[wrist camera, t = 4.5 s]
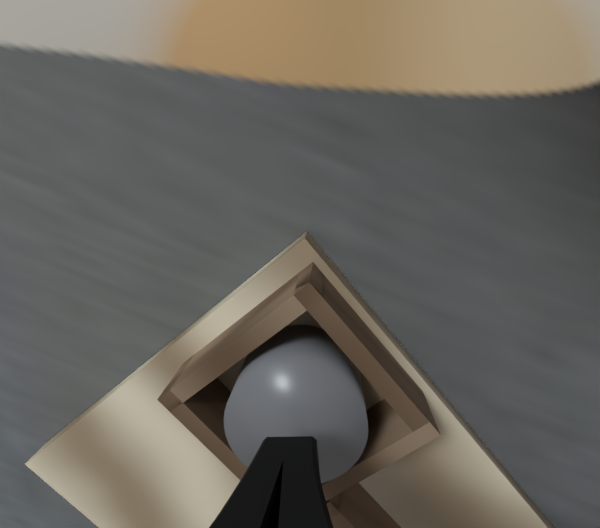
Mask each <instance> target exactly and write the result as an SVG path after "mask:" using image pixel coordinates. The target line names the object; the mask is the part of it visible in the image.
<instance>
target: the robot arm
mask: <svg viewBox="0 0 600 528" xmlns="http://www.w3.org/2000/svg"><path fill="white" fill-rule="evenodd" d="M209 528H333V524H332V521H331V518H330V514H329V511H328V507H327V503H326V500H325V496H324V493H323V488H322V484H321V479H320V470H319V459H318V448H317V440H316V439H315V438H314V437H313V436H298V437H266V438H265V439H264V440H263V442H262V444H261V446H260V448H259V449H258V451H257V453H256V455H255V457H254V458H253V460H252V462H251V464H250V465H249V467H248V469H247V470H246V472H245V474H244V475H243V477H242V479H241V480H240V482H239V484H238V485H237V487H236V488H235V490H234V491H233V493H232V494H231V496H230V498H229V499H228V501H227V502H226V504H225V505H224V507H223V508H222V510H221V511H220V513H219V514H218V516H217V517H216V519H215V520H214V521H213V523H212V524H211V526H210V527H209Z"/></svg>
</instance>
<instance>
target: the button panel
mask: <svg viewBox="0 0 600 528" xmlns="http://www.w3.org/2000/svg"><path fill="white" fill-rule="evenodd" d="M289 325H309V326H315V327H318V328H321V329H324V330H325V331H326V333H327V334H328V335H329V336H330V337H331V338H332V339H333V341H334V342H335V343H336V344H337V345H338V346H339V347H340V349H341V350H342V351H343V352H344V353H345V354H346V355H347V357H348V358H349V359H350V360H351V361H352V362H353V363H354V365H355V366H356V367H357V368H358V369H359V370H360V374H361V380H362V387H363V393H364V400H365V407H366V413H367V420H368V438H367V442H366V446H365V448H364V451H363V453H362V454H361V456H360V458H359V459H358V461H357V462H356V463H355V464H354V465H353V466H352V467H351V468H350V469H349V470H348V471H346V472H345V473H344V474H342V475H341V476H339V477H337V478H335V479H333V480H330V481H328V482H325V483H321V484H322V488H323V493H324V496H325V500H326V503H327V507H328V511H329V514H330V518H331V521H332V524H333V527H334V528H554V527H553V526H552V525H551V523H550V522H549V521H548V520H547V519H546V517H545V516H544V515H543V514H542V513H541V511H540V510H539V509H538V508H537V507H536V505H535V504H534V503H533V502H532V501H531V500H530V498H529V497H528V496H527V495H526V494H525V492H524V491H523V490H522V489H521V488H520V486H519V485H518V484H517V483H516V482H515V480H514V479H513V478H512V477H511V476H510V474H509V473H508V472H507V471H506V470H505V468H504V467H503V466H502V465H501V464H500V462H499V461H498V460H497V459H496V458H495V456H494V455H493V454H492V453H491V452H490V450H489V449H488V448H487V447H486V446H485V444H484V443H483V442H482V441H481V440H480V438H479V437H478V436H477V435H476V434H475V432H474V431H473V430H472V429H471V428H470V426H469V425H468V424H467V423H466V422H465V420H464V419H463V418H462V417H461V416H460V414H459V413H458V412H457V411H456V410H455V409H454V407H453V406H452V405H451V404H450V403H449V401H448V400H447V399H446V398H445V397H444V395H443V394H442V393H441V392H440V391H439V389H438V388H437V387H436V386H435V385H434V383H433V382H432V381H431V380H430V379H429V377H428V376H427V375H426V374H425V373H424V371H423V370H422V369H421V368H420V367H419V365H418V364H417V363H416V362H415V361H414V359H413V358H412V357H411V356H410V355H409V353H408V352H407V351H406V350H405V349H404V347H403V346H402V345H401V344H400V343H399V341H398V340H397V339H396V338H395V337H394V335H393V334H392V333H391V332H390V331H389V329H388V328H387V327H386V326H385V325H384V323H383V322H382V321H381V320H380V319H379V317H378V316H377V315H376V314H375V313H374V312H373V310H372V309H371V308H370V307H369V306H368V304H367V303H366V302H365V301H364V300H363V298H362V297H361V296H360V295H359V294H358V292H357V291H356V290H355V289H354V288H353V286H352V285H351V284H350V283H349V282H348V280H347V279H346V278H345V277H344V276H343V274H342V273H341V272H340V271H339V270H338V268H337V267H336V266H335V265H334V264H333V262H332V261H331V260H330V259H329V258H328V256H327V255H326V254H325V253H324V252H323V250H322V249H321V248H320V247H319V246H318V244H317V243H316V242H315V241H314V240H313V238H312V237H311V236H310V235H309V234H308V232H306V233H304V234H303V235H302V236H301V237H299V238H298V239H297V240H296V241H294V242H293V243H292V244H291V245H290V246H288V247H287V248H286V249H285V250H283V251H282V252H281V253H280V254H278V255H277V256H276V257H275V258H274V259H272V260H271V261H270V262H269V263H267V264H266V265H265V266H264V267H262V268H261V269H260V270H259V271H258V272H256V273H255V274H254V275H253V276H251V277H250V278H249V279H248V280H246V281H245V282H244V283H243V284H242V285H240V286H239V287H238V288H237V289H235V290H234V291H233V292H232V293H230V294H229V295H228V296H227V297H225V298H224V299H223V300H222V301H221V302H219V303H218V304H217V305H216V306H214V307H213V308H212V309H211V310H209V311H208V312H207V313H206V314H205V315H203V316H202V317H201V318H200V319H198V320H197V321H196V322H195V323H193V324H192V325H191V326H190V327H189V328H187V329H186V330H185V331H184V332H182V333H181V334H180V335H179V336H177V337H176V338H175V339H174V340H173V341H171V342H170V343H169V344H168V345H166V346H165V347H164V348H163V349H161V350H160V351H159V352H158V353H156V354H155V355H154V356H153V357H152V358H150V359H149V360H148V361H147V362H145V363H144V364H143V365H142V366H140V367H139V368H138V369H137V370H136V371H134V372H133V373H132V374H131V375H129V376H128V377H127V378H126V379H124V380H123V381H122V382H121V383H120V384H118V385H117V386H116V387H115V388H113V389H112V390H111V391H110V392H108V393H107V394H106V395H105V396H104V397H102V398H101V399H100V400H99V401H97V402H96V403H95V404H94V405H92V406H91V407H90V408H89V409H88V410H86V411H85V412H84V413H83V414H81V415H80V416H79V417H78V418H76V419H75V420H74V421H73V422H71V423H70V424H69V425H68V426H67V427H65V428H64V429H63V430H62V431H60V432H59V433H58V434H57V435H55V436H54V437H53V438H52V439H51V440H49V441H48V442H47V443H46V444H45V445H44V446H43V447H42V448H41V449H40V450H39V451H38V452H37V453H36V454H35V455H34V456H33V457H32V458H31V459H30V460H29V461H28V462H27V463H26V464H25V465H26V466H27V467H29V468H30V469H31V470H32V471H33V472H34V473H36V474H37V475H38V476H39V477H40V478H42V479H43V480H44V481H45V482H46V483H47V484H49V485H50V486H51V487H52V488H53V489H54V490H56V491H57V492H58V493H59V494H60V495H61V496H63V497H64V498H65V499H66V500H67V501H68V502H70V503H71V504H72V505H73V506H74V507H75V508H77V509H78V510H79V511H80V512H81V513H82V514H84V515H85V516H86V517H87V518H88V519H89V520H91V521H92V522H93V523H94V524H95V525H96V526H98V527H99V528H209V527H210V526H211V524H212V523H213V521H214V520H215V519H216V517H217V516H218V514H219V513H220V511H221V510H222V508H223V507H224V505H225V504H226V502H227V501H228V499H229V498H230V496H231V494H232V493H233V491H234V490H235V488H236V487H237V485H238V484H239V482H240V480H241V479H242V477H243V475H244V474H245V472H246V470H247V469H248V467H246V466H245V465H244V464H243V463H242V462H241V461H240V460H239V459H238V458H237V456H236V455H235V454H234V452H233V451H232V449H231V447H230V445H229V443H228V441H227V438H226V435H225V430H224V412H225V408H226V404H227V402H228V399H229V397H230V395H231V392H232V390H233V387H234V385H235V383H236V380H237V378H238V376H239V373H240V371H241V368H242V366H243V364H244V361H245V359H246V357H247V355H248V354H249V353H251V352H252V351H253V350H255V349H256V348H257V347H259V346H260V345H261V344H263V343H264V342H265V341H267V340H268V339H269V338H271V337H272V336H273V335H275V334H276V333H277V332H279V331H280V330H281V329H283V328H284V327H285V326H289Z"/></svg>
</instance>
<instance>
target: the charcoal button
mask: <svg viewBox="0 0 600 528" xmlns="http://www.w3.org/2000/svg"><path fill="white" fill-rule="evenodd" d="M224 430H225V435H226V438H227V441H228V443H229V445H230V447H231V449H232V451H233V452H234V454H235V455H236V456H237V458H238V459H239V460H240V461H241V462H242V463H243V464H244V465H245V466H246V467H249V465H250V464H251V462H252V460H253V458H254V457H255V455H256V453H257V451H258V449H259V448H260V446H261V444H262V442H263V440H264V439H265V438H266V437H298V436H313V437H314V438H315V439H316V440H317V448H318V459H319V470H320V479H321V483H325V482H328V481H330V480H333V479H335V478H337V477H339V476H341V475H342V474H344V473H345V472H346V471H348V470H349V469H350V468H351V467H352V466H353V465H354V464H355V463H356V462H357V461H358V459H359V458H360V456H361V454H362V453H363V451H364V448H365V446H366V442H367V438H368V420H367V413H366V407H365V400H364V393H363V387H362V380H361V374H360V370H359V369H358V368H357V367H356V366H355V365H354V363H353V362H352V361H351V360H350V359H349V358H348V357H347V355H346V354H345V353H344V352H343V351H342V350H341V349H340V347H339V346H338V345H337V344H336V343H335V342H334V341H333V339H332V338H331V337H330V336H329V335H328V334H327V333H326V331H325V330H324V329H321V328H318V327H315V326H309V325H289V326H285V327H284V328H283V329H281V330H280V331H279V332H277V333H276V334H275V335H273V336H272V337H271V338H269V339H268V340H267V341H265V342H264V343H263V344H261V345H260V346H259V347H257V348H256V349H255V350H253V351H252V352H251V353H249V354H248V355H247V357H246V359H245V361H244V364H243V366H242V368H241V371H240V373H239V376H238V378H237V380H236V383H235V385H234V387H233V390H232V392H231V395H230V397H229V399H228V402H227V404H226V408H225V412H224Z"/></svg>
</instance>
